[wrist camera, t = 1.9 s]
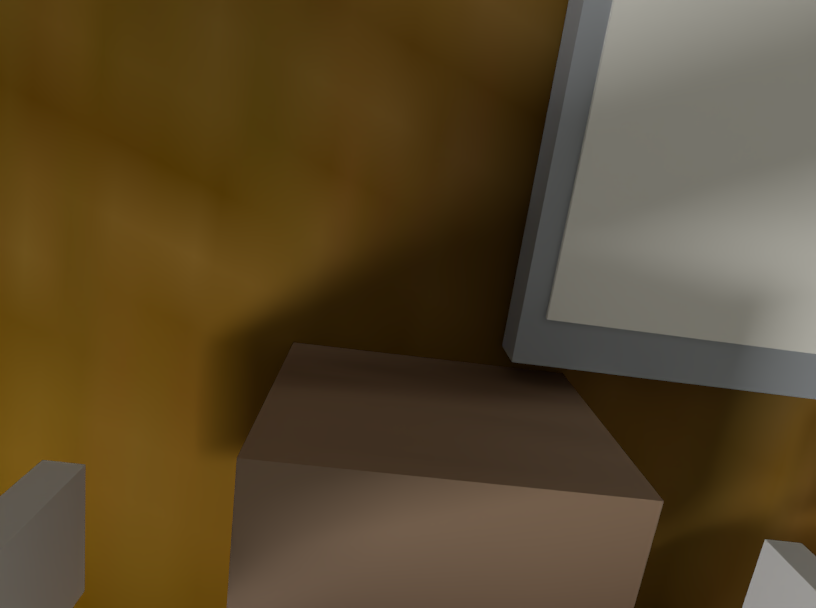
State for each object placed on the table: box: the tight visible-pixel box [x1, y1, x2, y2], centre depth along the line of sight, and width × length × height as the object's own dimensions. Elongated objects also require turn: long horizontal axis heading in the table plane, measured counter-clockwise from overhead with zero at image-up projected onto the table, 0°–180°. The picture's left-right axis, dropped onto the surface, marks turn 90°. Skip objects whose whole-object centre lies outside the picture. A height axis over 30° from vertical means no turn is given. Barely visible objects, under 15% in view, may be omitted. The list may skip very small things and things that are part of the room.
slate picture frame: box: [502, 0, 816, 399], centre depth 11 cm, size 9×8×1 cm
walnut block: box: [227, 342, 664, 608], centre depth 11 cm, size 6×6×5 cm
